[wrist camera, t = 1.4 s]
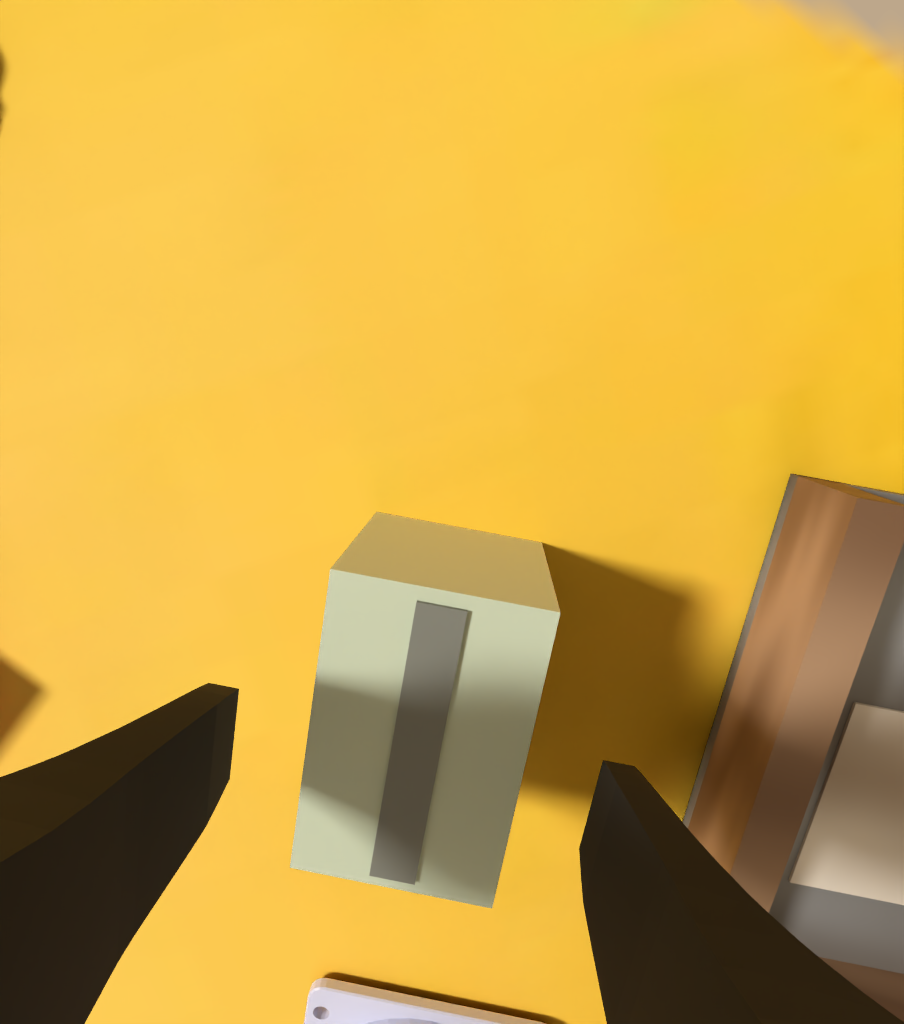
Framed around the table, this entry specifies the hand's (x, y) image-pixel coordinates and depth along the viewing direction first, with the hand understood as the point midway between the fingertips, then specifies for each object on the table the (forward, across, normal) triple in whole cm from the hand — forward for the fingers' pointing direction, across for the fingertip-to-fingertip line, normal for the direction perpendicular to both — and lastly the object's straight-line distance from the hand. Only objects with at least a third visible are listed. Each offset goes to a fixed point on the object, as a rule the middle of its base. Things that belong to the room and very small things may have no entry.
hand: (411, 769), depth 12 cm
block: (+6, 0, 0) cm, 6 cm away
